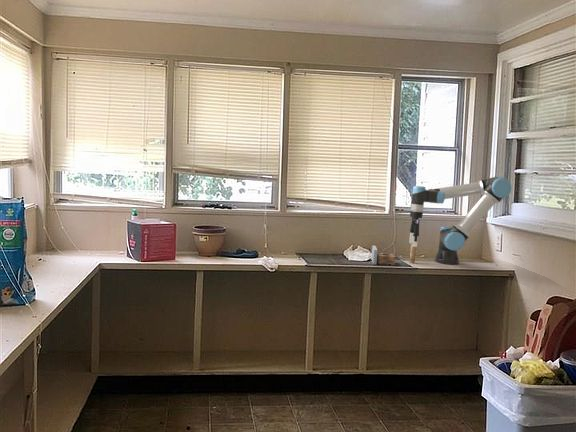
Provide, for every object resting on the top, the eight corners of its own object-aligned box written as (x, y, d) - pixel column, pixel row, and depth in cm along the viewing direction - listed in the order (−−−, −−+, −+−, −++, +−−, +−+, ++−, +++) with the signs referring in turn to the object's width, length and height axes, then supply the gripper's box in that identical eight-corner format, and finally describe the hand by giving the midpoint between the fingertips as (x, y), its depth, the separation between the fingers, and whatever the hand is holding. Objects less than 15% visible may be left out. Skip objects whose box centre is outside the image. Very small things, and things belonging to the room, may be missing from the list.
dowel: (414, 262, 380) (416, 242, 379) (414, 263, 377) (416, 242, 375) (409, 262, 380) (410, 241, 379) (409, 263, 377) (411, 242, 376)
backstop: (374, 259, 380) (375, 245, 379) (376, 264, 364) (377, 250, 363) (370, 259, 380) (372, 245, 379) (373, 264, 364) (374, 249, 363)
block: (392, 261, 376) (393, 253, 376) (394, 264, 366) (395, 256, 366) (376, 260, 377) (377, 252, 376) (378, 263, 367) (378, 255, 366)
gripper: (407, 208, 387) (404, 241, 390) (413, 212, 363) (409, 247, 365) (419, 209, 387) (416, 242, 390) (426, 213, 362) (422, 248, 365)
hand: (413, 244), depth 377 cm, fingers open, 13 cm apart
